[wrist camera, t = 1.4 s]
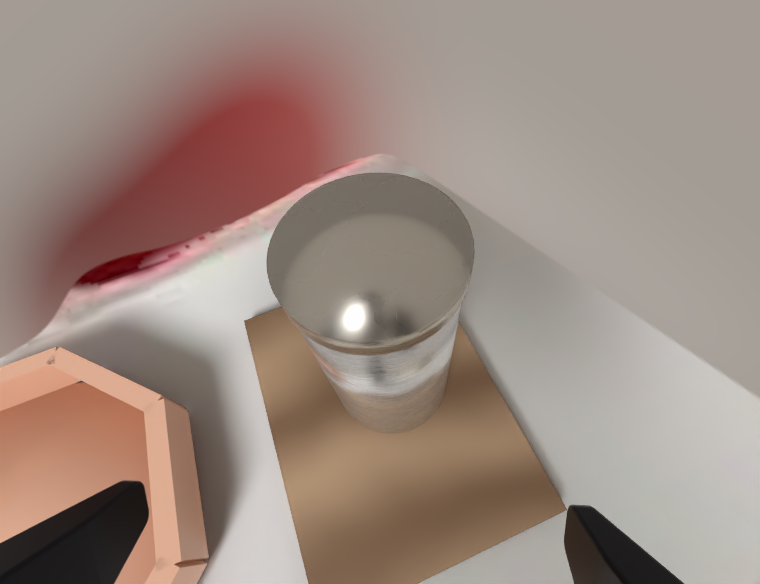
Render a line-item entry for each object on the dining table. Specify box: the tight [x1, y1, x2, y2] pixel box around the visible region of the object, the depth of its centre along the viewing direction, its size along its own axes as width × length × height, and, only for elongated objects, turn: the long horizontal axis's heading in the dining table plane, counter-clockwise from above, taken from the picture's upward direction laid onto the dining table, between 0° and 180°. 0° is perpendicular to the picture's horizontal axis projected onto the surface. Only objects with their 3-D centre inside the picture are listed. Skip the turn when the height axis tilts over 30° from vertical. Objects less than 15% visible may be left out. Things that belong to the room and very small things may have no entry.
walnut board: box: [244, 307, 567, 584], centre depth 22 cm, size 16×12×1 cm
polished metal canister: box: [267, 173, 474, 434], centre depth 17 cm, size 6×6×12 cm
